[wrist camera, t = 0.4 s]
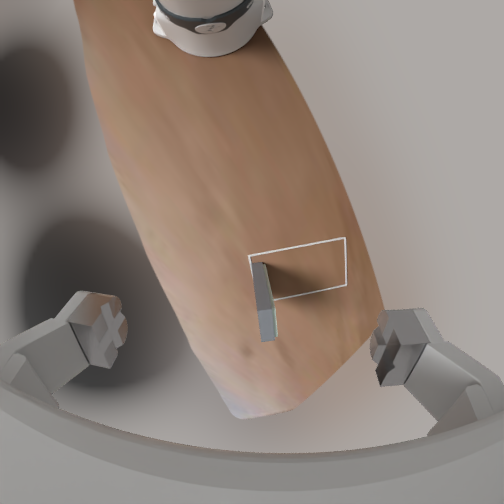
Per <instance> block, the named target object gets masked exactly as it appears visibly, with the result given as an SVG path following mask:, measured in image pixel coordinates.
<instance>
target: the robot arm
mask: <svg viewBox="0 0 504 504" xmlns="http://www.w3.org/2000/svg"><path fill="white" fill-rule="evenodd" d="M153 5H154V6H156V11H155V13H154V23H153V31H154V33H155V34H156V35H158V36H160V37H163V38H167V39H169V40H171V41H172V42H173V43H174V44H175V45H176V46H177V47H179V48H180V49H181V50H183V51H185V52H187V53H189V54H192V55H196V56H202V57H215V56H221V55H225V54H228V53H231V52H233V51H235V50H237V49H239V48H241V47H242V46H243V45H245V44H246V43H247V42H248V41H249V40H250V39H251V38H252V36H253V35H254V33H255V32H256V30H257V29H258V27H259V26H260V25H262V24H263V23H265V22H267V21H268V20H269V19H271V18H272V15H273V11H272V8H271V6H270V3H269V1H268V0H153ZM264 7H265V9H264ZM121 308H122V305H121V302H120V299H119V298H118V297H116V296H112V295H106V294H99V293H93V292H92V293H91V292H86V291H78V292H76V294H75V295H74V296H73V297H72V298H71V299H70V300H69V302H68V303H67V304H66V305H65V307H64V308H63V309H62V310H61V311H60V312H59V314H58V315H57V316H56V317H55V319H52V318H51V319H49V320H47V321H45V322H43V323H41V324H39V325H37V326H35V327H33V328H31V329H29V330H27V331H25V332H23V333H21V334H19V335H17V336H15V337H14V338H11V339H9V340H7V341H6V342H4V343H2V344H0V504H504V385H503V383H502V381H501V379H500V377H499V376H498V375H496V374H495V373H493V372H492V371H491V370H489V369H488V368H486V367H485V366H484V365H482V364H481V363H479V362H478V361H476V360H475V359H473V358H472V357H471V356H469V355H468V354H466V353H465V352H463V351H462V350H460V349H459V348H457V347H456V346H455V345H453V344H452V343H450V342H449V341H447V342H445V341H444V339H443V338H442V336H441V334H440V332H439V331H438V329H437V327H436V326H435V324H434V322H433V320H432V319H431V317H430V315H429V314H428V312H427V310H425V309H424V308H417V309H406V310H405V309H404V310H382V311H381V312H380V314H379V316H378V319H377V322H378V324H379V326H378V327H377V328H376V329H375V330H374V331H373V333H372V336H371V340H370V353H371V357H372V360H373V361H375V362H376V363H377V364H378V366H377V368H376V370H375V371H376V374H377V377H378V381H379V384H380V387H382V386H394V385H404V387H405V388H406V389H407V390H408V391H409V392H410V393H411V394H412V395H413V396H414V397H415V398H416V399H417V400H418V401H419V402H420V403H421V404H422V405H423V406H424V407H425V409H427V411H428V412H429V413H430V414H431V415H432V416H433V417H434V418H435V419H436V420H437V421H438V422H437V423H436V425H435V426H434V427H433V428H432V429H431V430H430V431H429V432H428V434H427V437H423V438H418V439H414V440H410V441H405V442H400V443H395V444H389V445H384V446H377V447H371V448H364V449H356V450H346V451H334V452H320V453H255V452H240V451H229V450H219V449H211V448H203V447H196V446H190V445H184V444H178V443H172V442H167V441H163V440H158V439H154V438H149V437H145V436H141V435H137V434H133V433H130V432H126V431H122V430H119V429H115V428H112V427H109V426H105V425H103V424H99V423H96V422H94V421H91V420H88V419H85V418H82V417H80V416H77V415H74V414H72V413H69V412H67V411H64V410H61V409H59V404H58V402H57V401H56V400H55V399H54V397H53V396H52V394H53V393H54V392H55V391H57V390H58V389H59V388H61V387H62V386H63V385H64V384H66V383H67V382H68V381H70V380H71V379H72V378H73V377H75V376H76V375H77V374H78V373H80V372H81V371H83V370H84V369H85V368H86V367H87V366H89V364H92V365H96V366H100V367H105V368H111V366H112V364H113V362H114V360H115V359H116V357H117V355H118V353H117V349H116V348H118V347H120V346H121V345H123V343H124V341H125V339H126V336H127V331H128V329H127V321H126V318H125V317H124V315H123V314H122V313H121V312H120V310H121Z"/></svg>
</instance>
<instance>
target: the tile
mask: <svg viewBox="0 0 504 504" xmlns="http://www.w3.org/2000/svg"><path fill="white" fill-rule="evenodd" d="M251 267H252V275H253V282H254V290H255V297H256V305H257V312H258V319H259V327H260V334H261V342H265V341H273V340H275V337H278V334H277V322H276V310H275V305H274V300H273V296H272V291H271V287H270V282H269V278H268V274H267V269H266V265H265V264H262V262H258V263H252V264H251Z"/></svg>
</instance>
